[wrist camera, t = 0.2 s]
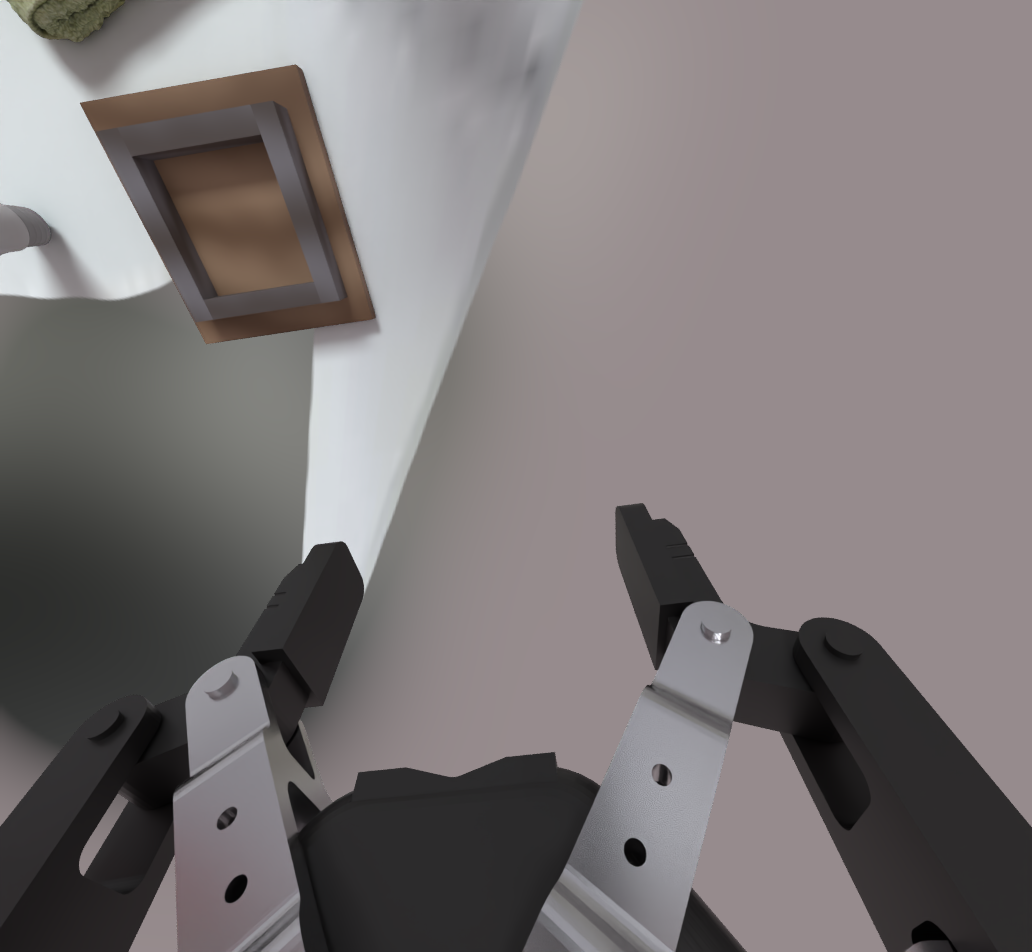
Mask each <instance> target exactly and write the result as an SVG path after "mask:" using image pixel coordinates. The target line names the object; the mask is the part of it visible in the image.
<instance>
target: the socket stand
mask: <svg viewBox="0 0 1032 952" xmlns="http://www.w3.org/2000/svg"><path fill="white" fill-rule="evenodd" d="M80 105H81V106H82V108H83V110H84V112H85V114H86V116H87V118H88V120H89V122H90V124H91V126H92V127H93V129H94V131H95V133H96V135H97V137H98V139H99V141H100V143H101V145H102V147H103V148H104V150H105V152H106V154H107V156H108V158H109V160H110V162H111V164H112V166H113V167H114V169H115V171H116V173H117V175H118V177H119V179H120V181H121V183H122V185H123V187H124V188H125V190H126V192H127V194H128V196H129V198H130V200H131V202H132V204H133V206H134V208H135V209H136V211H137V213H138V215H139V217H140V219H141V221H142V223H143V225H144V227H145V229H146V230H147V232H148V234H149V236H150V238H151V240H152V242H153V244H154V246H155V248H156V249H157V251H158V253H159V255H160V257H161V259H162V261H163V263H164V265H165V267H166V269H167V270H168V272H169V274H170V276H171V278H172V280H173V282H174V284H175V286H176V288H177V290H178V291H179V293H180V295H181V297H182V299H183V301H184V303H185V304H186V307H187V309H188V311H189V312H190V314H191V316H192V318H193V320H194V322H195V324H196V326H197V328H198V330H199V331H200V333H201V335H202V337H203V339H204V341H205V343H206V344H209V343H217V342H223V341H230V340H237V339H243V338H250V337H257V336H264V335H271V334H277V333H284V332H290V331H297V330H304V329H311V328H317V327H324V326H331V325H338V324H344V323H351V322H358V321H364V320H371V319H374V318H375V317H376V316H375V312H374V309H373V306H372V302H371V299H370V296H369V292H368V289H367V286H366V282H365V279H364V276H363V272H362V269H361V265H360V262H359V259H358V255H357V252H356V249H355V245H354V242H353V239H352V235H351V232H350V229H349V225H348V222H347V219H346V215H345V212H344V208H343V205H342V202H341V198H340V195H339V192H338V188H337V185H336V182H335V178H334V175H333V172H332V168H331V165H330V162H329V158H328V155H327V151H326V148H325V145H324V141H323V138H322V135H321V131H320V128H319V125H318V121H317V118H316V115H315V111H314V108H313V105H312V101H311V98H310V94H309V91H308V88H307V84H306V81H305V78H304V74H303V71H302V69H301V68H299V67H298V66H297V65H290V66H285V67H279V68H273V69H268V70H262V71H257V72H251V73H245V74H240V75H234V76H228V77H223V78H217V79H211V80H206V81H200V82H194V83H189V84H183V85H178V86H172V87H166V88H161V89H155V90H149V91H144V92H138V93H132V94H127V95H121V96H116V97H110V98H104V99H99V100H93V101H87V102H82V103H80Z"/></svg>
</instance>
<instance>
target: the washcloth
mask: <svg viewBox="0 0 1032 952" xmlns="http://www.w3.org/2000/svg"><path fill="white" fill-rule="evenodd" d="M7 1H8V2H9V3H10V4H11V7H12V9H13V10H14V11H15V12H16V13H17V14H18V15H19V17H20V18H21V19H22V20H23V21H24V22H25V23H26V24H28V25H29V27H30V28H31V29H32V30H33V31H34V32H35V33H36V34H38V35H39V36H41V37H43V38H47V39H57V40H59V39H69V40H71V41H73V42H81V41H83V40H84V38H85V37H88V36H89V35H90V33H91V32H93V31H94V30H97V31H98V30H99V29H100V28H101V26H102V24H103V21H104V17H109V16H110V14H111V13H112V12H113V11H115V10H116V9H117V8H118V7H120V6H121V5H123V4H124V2H125V0H7Z"/></svg>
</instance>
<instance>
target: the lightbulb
mask: <svg viewBox="0 0 1032 952" xmlns="http://www.w3.org/2000/svg"><path fill="white" fill-rule="evenodd" d="M50 238H51V232H50V229H49V227H48V225H47V223H46V222H45V221H44V219H43V218H42V217H41V216H39V215H38V214H37V213H36V212H34V211H32V210H31V209H28V208H25V207H18V206H10V205H3V204H1V203H0V255H2V254H5V253H8V252H15V251H21V250H23V249H25V248H26V247H33V246H40V245H46V244H47V243H48V242H49V241H50Z"/></svg>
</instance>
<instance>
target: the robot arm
mask: <svg viewBox="0 0 1032 952" xmlns="http://www.w3.org/2000/svg"><path fill="white" fill-rule="evenodd" d="M615 514H616V554H617V560H618V564H619V567H620V570H621V574H622V576H623V579H624V582H625V585H626V588H627V591H628V593H629V596H630V599H631V602H632V605H633V608H634V611H635V614H636V617H637V619H638V622H639V625H640V628H641V631H642V634H643V636H644V639H645V642H646V645H647V648H648V651H649V654H650V657H651V660H652V662H653V665H654V668H655V670H658V672H657V674H656V676H655V679H654V681H653V683H652V684H651V685H647V686H646V687H645V689H644V690H643V692H642V694H641V696H640V698H639V700H638V702H637V705H636V707H635V709H634V711H633V714H632V716H631V718H630V721H629V723H628V725H627V728H626V730H625V732H624V734H623V737H622V739H621V741H620V743H619V746H618V748H617V750H616V753H615V755H614V757H613V759H612V762H611V764H610V766H609V768H608V771H607V773H606V775H605V778H604V780H603V782H602V785H601V786H600V785H598V784H597V783H595V782H594V781H592V780H591V779H589V778H587V777H585V776H583V775H581V774H579V773H576V772H573V771H570V770H567V769H563V768H559V767H557V762H556V756H555V753H554V752H551V753H542V754H533V755H523V756H513V757H505V758H503V759H500V760H498V761H495V762H493V763H490V764H488V765H485V766H483V767H481V768H478V769H476V770H473V771H471V772H468V773H466V774H463V775H461V776H458V777H447V776H442V775H437V774H433V773H428V772H424V771H419V770H415V769H410V768H396V769H387V770H378V771H367V772H359V773H358V776H357V780H356V784H355V788H354V791H352V792H350V793H348V794H346V795H344V796H343V797H341V798H339V799H337V800H336V801H334V802H332V800H331V799H330V797H329V795H328V794H327V792H326V790H325V787H324V785H323V782H322V779H321V776H320V773H319V770H318V767H317V764H316V761H315V758H314V755H313V752H312V749H311V746H310V743H309V740H308V737H307V734H306V731H305V728H304V725H303V723H302V722H301V720H300V717H301V715H302V713H303V710H304V708H307V707H316V706H323V704H324V701H325V699H326V696H327V693H328V691H329V688H330V685H331V682H332V680H333V677H334V675H335V672H336V669H337V666H338V664H339V661H340V658H341V656H342V653H343V650H344V647H345V645H346V642H347V640H348V637H349V634H350V631H351V629H352V626H353V623H354V621H355V618H356V615H357V613H358V610H359V607H360V605H361V602H362V599H363V594H364V584H363V579H362V577H361V574H360V572H359V570H358V568H357V566H356V564H355V562H354V560H353V557H352V555H351V553H350V551H349V549H348V547H347V545H346V544H345V543H344V542H333V543H325V544H318V545H315V546H314V547H313V548H312V549H311V551H310V553H309V554H308V556H307V558H306V560H305V561H304V563H303V564H299V565H298V566H296V567H295V568H294V569H293V570H292V571H291V572H290V573H289V574H288V575H287V576H286V577H285V578H284V579H283V580H282V582H281V584H280V585H279V587H278V588H277V590H276V592H275V596H273V597H272V598H271V600H270V601H269V603H268V605H267V609H265V610H264V611H263V613H262V614H261V616H260V618H259V619H258V621H257V623H256V624H255V626H254V627H253V629H252V631H251V632H250V634H249V635H248V637H247V639H246V640H245V642H244V644H243V645H242V647H241V649H240V650H239V652H238V653H237V655H236V656H235V657H232V658H228V659H226V660H224V661H222V662H220V663H218V664H216V665H215V666H213V667H212V668H210V669H209V670H208V671H206V672H205V673H204V674H203V675H202V676H201V677H200V678H199V679H198V680H197V681H196V682H195V684H194V685H193V686H192V688H191V689H190V692H188V693H186V694H183V695H181V696H178V697H175V698H173V699H170V700H168V701H165V702H162V703H160V704H158V705H155V706H153V705H152V704H151V703H150V702H149V701H148V700H147V699H145V698H144V697H143V696H141V695H130V696H126V697H123V698H120V699H118V700H116V701H114V702H112V703H110V704H108V705H106V706H105V707H103V708H102V709H100V710H99V711H97V712H96V713H95V714H93V715H92V716H91V717H90V718H89V719H87V720H86V721H85V722H84V723H83V724H82V725H81V726H80V727H79V728H78V730H77V731H76V732H75V733H74V734H73V736H72V737H71V738H70V739H69V741H68V742H67V743H66V745H65V746H64V747H63V748H62V750H61V751H60V752H59V753H58V755H57V756H56V757H55V758H54V760H53V761H52V762H51V763H50V765H49V766H48V767H47V768H46V770H45V771H44V772H43V773H42V775H41V776H40V777H39V779H38V780H37V781H36V782H35V784H34V785H33V786H32V787H31V789H30V790H29V791H28V792H27V794H26V795H25V796H24V798H23V799H22V800H21V801H20V802H19V804H18V805H17V806H16V808H15V809H14V810H13V811H12V813H11V814H10V815H9V817H8V818H7V819H6V820H5V822H4V823H3V824H2V825H1V826H0V952H128V951H129V949H130V947H131V945H132V942H133V940H134V938H135V937H136V934H137V932H138V930H139V928H140V926H141V924H142V922H143V920H144V918H145V915H146V914H147V911H148V909H149V907H150V905H151V903H152V901H153V899H154V897H155V895H156V893H157V890H158V888H159V886H160V884H161V882H162V880H163V878H164V876H165V874H166V872H167V870H168V867H169V865H170V863H171V861H172V859H173V857H174V855H175V879H176V910H177V911H176V912H177V943H178V944H177V945H178V952H746V951H745V949H744V948H743V947H742V946H741V945H740V944H739V942H738V941H737V940H736V939H735V938H734V937H733V935H732V934H731V933H730V932H729V931H728V929H727V928H726V927H725V926H724V925H723V924H722V922H721V921H720V920H719V919H718V918H717V917H716V915H715V914H714V913H713V912H712V911H711V909H710V908H708V906H707V905H706V904H705V902H704V901H703V900H702V899H701V898H700V897H699V895H698V894H697V893H696V892H695V891H694V890H693V888H692V883H693V879H694V875H695V871H696V867H697V863H698V859H699V855H700V851H701V847H702V843H703V839H704V836H705V831H706V828H707V823H708V820H709V815H710V812H711V808H712V804H713V800H714V796H715V792H716V787H717V783H718V780H719V776H720V772H721V767H722V763H723V760H724V756H725V752H726V748H727V744H728V739H729V736H730V732H731V727H732V722H733V721H735V722H740V723H745V724H748V725H753V726H758V727H761V728H766V729H770V730H775V731H779V732H780V733H781V736H782V738H783V739H784V742H785V744H786V745H787V748H788V749H789V752H790V754H791V756H792V758H793V760H794V762H795V764H796V766H797V768H798V770H799V772H800V774H801V776H802V778H803V780H804V782H805V784H806V787H807V788H808V791H809V792H810V795H811V797H812V799H813V801H814V803H815V805H816V807H817V809H818V811H819V813H820V815H821V817H822V819H823V821H824V823H825V825H826V827H827V829H828V831H829V833H830V835H831V837H832V839H833V841H834V843H835V845H836V847H837V850H838V852H839V853H840V856H841V858H842V860H843V862H844V864H845V866H846V868H847V870H848V872H849V874H850V876H851V878H852V880H853V882H854V884H855V886H856V888H857V890H858V892H859V894H860V896H861V898H862V900H863V902H864V904H865V906H866V909H867V911H868V913H869V915H870V917H871V919H872V921H873V923H874V925H875V927H876V929H877V931H878V933H879V935H880V937H881V939H882V941H883V943H884V945H885V947H886V949H887V951H888V952H1032V827H1031V826H1030V825H1029V824H1028V822H1027V821H1026V820H1025V819H1024V818H1023V816H1022V815H1021V814H1020V813H1019V811H1018V810H1017V809H1016V808H1015V807H1014V805H1013V804H1012V803H1011V802H1010V801H1009V799H1008V798H1007V797H1006V796H1005V795H1004V793H1003V792H1002V791H1001V790H1000V789H999V787H998V786H997V785H996V784H995V783H994V781H993V780H992V779H991V778H990V777H989V775H988V774H987V773H986V772H985V771H984V769H983V768H982V767H981V766H980V765H979V763H978V762H977V761H976V760H975V758H974V757H973V756H972V755H971V754H970V752H969V751H968V750H967V749H966V748H965V746H964V745H963V744H962V743H961V742H960V740H959V739H958V738H957V737H956V736H955V734H954V733H953V732H952V731H951V730H950V728H949V727H948V726H947V725H946V724H945V722H944V721H943V720H942V719H941V718H940V716H939V715H938V714H937V713H936V712H935V710H934V709H933V708H932V707H931V706H930V704H929V703H928V702H927V701H926V700H925V698H924V697H923V696H922V695H921V693H920V692H919V691H918V690H917V689H916V687H915V686H914V685H913V684H912V683H911V681H910V680H909V679H908V678H907V677H906V675H905V674H904V673H903V672H902V671H901V669H900V668H899V667H898V666H897V665H896V664H895V662H894V661H893V660H892V659H891V657H890V656H889V655H888V654H887V653H886V651H885V650H884V649H883V648H882V646H881V645H880V644H879V643H878V642H877V641H876V640H875V639H874V638H873V637H872V636H870V635H869V634H868V633H866V632H865V631H863V630H862V629H860V628H858V627H856V626H854V625H852V624H850V623H848V622H845V621H841V620H838V619H834V618H814V619H811V620H809V621H806V622H805V623H804V624H803V625H802V626H801V628H800V630H799V632H796V631H790V630H782V629H777V628H770V627H764V626H760V625H756V624H753V623H750V622H748V621H747V620H746V618H745V617H744V616H743V615H742V614H741V613H739V612H738V611H737V610H735V609H733V608H732V607H730V606H727V605H725V604H723V602H722V601H721V599H720V597H719V596H718V594H717V592H716V591H715V589H714V587H713V586H712V584H711V582H710V581H709V579H708V577H707V576H706V574H705V572H704V571H703V569H702V567H701V565H700V564H699V562H698V561H697V559H696V557H694V553H693V552H692V550H691V548H690V547H689V546H688V545H687V542H686V540H685V538H684V537H683V535H682V533H681V531H680V530H679V529H678V528H677V527H675V526H674V525H672V523H670V522H669V521H667V520H666V519H656V520H652V519H651V517H650V515H649V513H648V511H647V509H646V507H645V505H644V504H643V503H640V504H633V505H624V506H617V507H616V513H615ZM117 794H120V795H121V796H123V797H124V798H125V799H127V800H128V801H129V802H128V804H127V805H126V807H125V808H124V810H123V812H122V813H121V815H120V817H119V818H118V820H117V822H116V823H115V825H114V827H113V828H112V830H111V832H110V834H109V835H108V836H107V838H106V840H105V842H104V843H103V845H102V847H101V848H100V850H99V852H98V853H97V855H96V856H95V858H94V860H93V861H92V863H91V865H90V866H89V868H88V870H87V871H86V873H85V875H84V876H82V875H81V873H80V870H79V859H80V856H81V853H82V850H83V848H84V846H85V844H86V843H87V841H88V839H89V838H90V836H91V835H92V833H93V832H94V830H95V828H96V827H97V825H98V824H99V822H100V820H101V819H102V817H103V815H104V814H105V813H106V811H107V809H108V808H109V806H110V804H111V803H112V801H113V800H114V798H115V797H116V795H117Z"/></svg>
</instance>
